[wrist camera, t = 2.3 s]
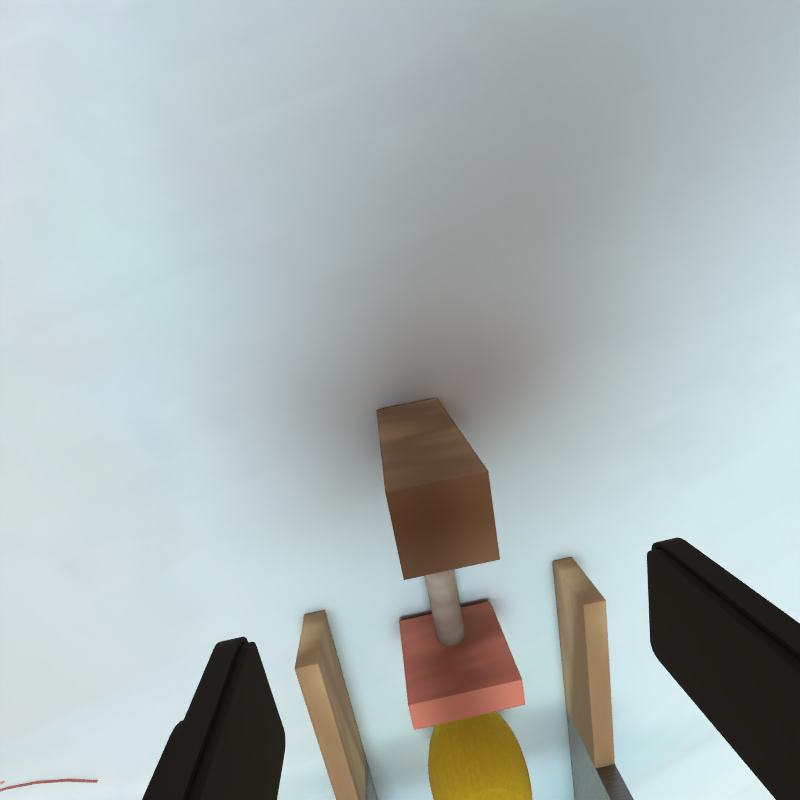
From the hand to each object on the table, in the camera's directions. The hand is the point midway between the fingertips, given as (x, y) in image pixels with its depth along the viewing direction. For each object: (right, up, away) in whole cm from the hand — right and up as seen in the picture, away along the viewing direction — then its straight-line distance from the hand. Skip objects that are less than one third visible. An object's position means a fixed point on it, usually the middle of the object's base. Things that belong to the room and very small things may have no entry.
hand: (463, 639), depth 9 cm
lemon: (+3, -15, +18) cm, 23 cm away
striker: (0, -2, +14) cm, 14 cm away
